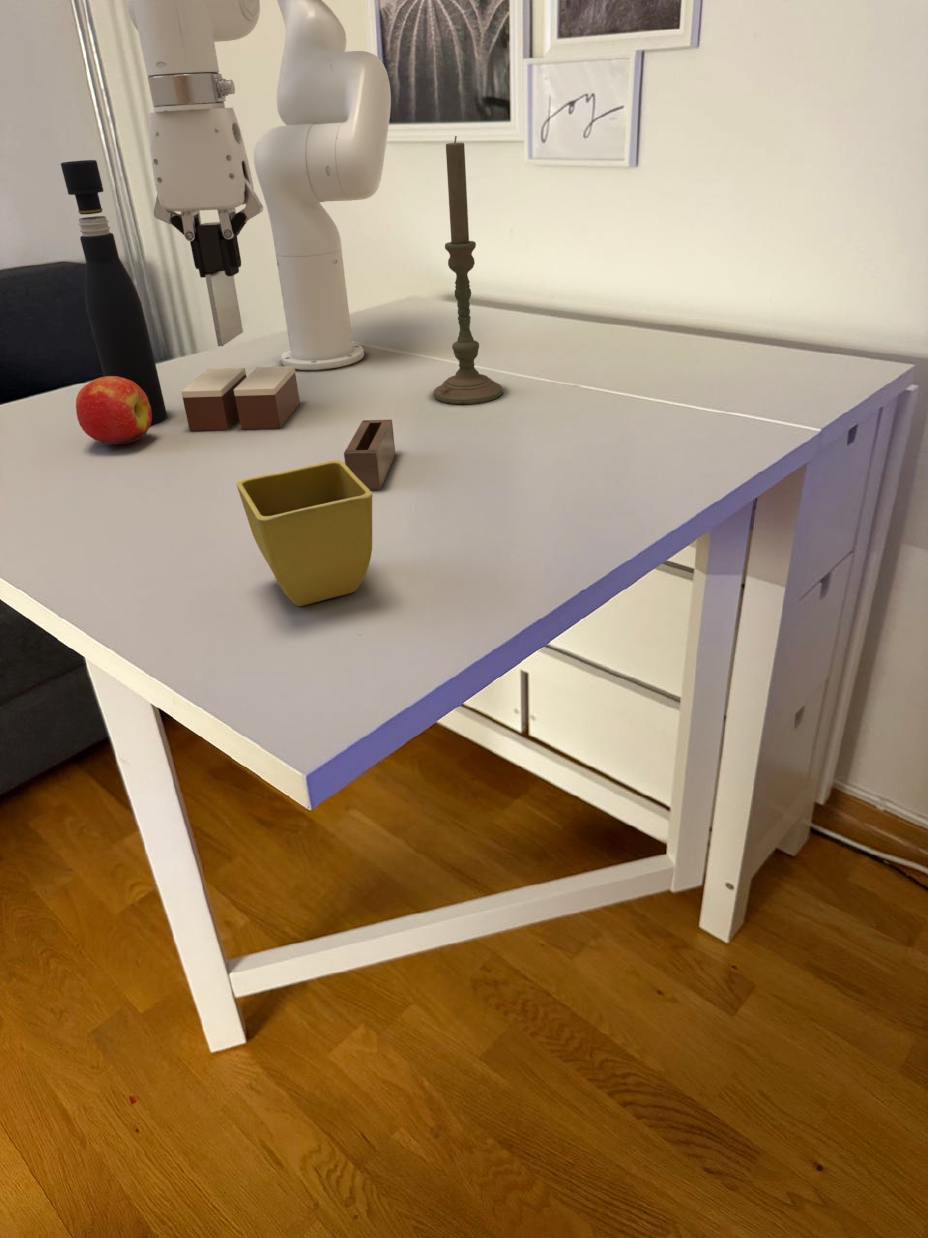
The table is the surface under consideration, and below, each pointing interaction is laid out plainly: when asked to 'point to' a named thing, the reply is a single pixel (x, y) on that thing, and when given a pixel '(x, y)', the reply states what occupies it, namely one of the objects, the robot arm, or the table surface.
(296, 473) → the flower pot
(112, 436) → the apple
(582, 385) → the table surface
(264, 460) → the table surface
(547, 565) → the table surface
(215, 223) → the knife
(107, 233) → the wine bottle
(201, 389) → the cake
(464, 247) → the candlestick holder
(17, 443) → the table surface
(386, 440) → the knife block
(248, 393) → the cake slice
